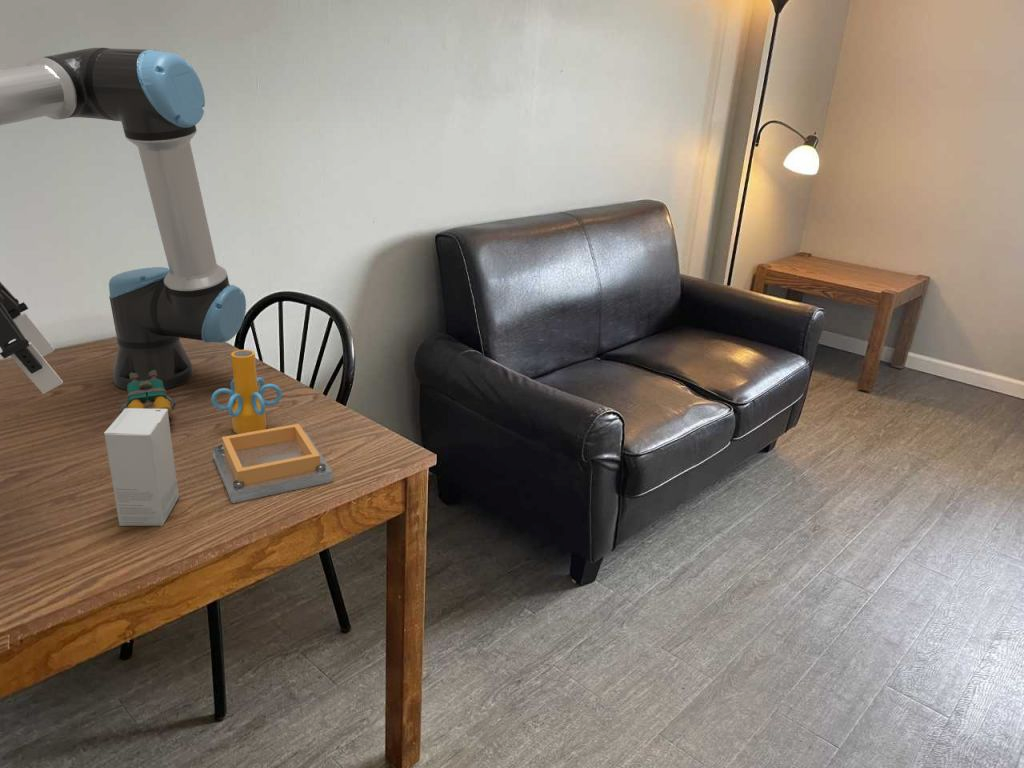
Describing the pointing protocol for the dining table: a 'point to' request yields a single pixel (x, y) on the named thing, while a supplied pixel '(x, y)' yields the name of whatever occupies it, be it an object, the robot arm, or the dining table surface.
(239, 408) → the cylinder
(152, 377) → the binoculars
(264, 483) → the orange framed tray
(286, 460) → the frame
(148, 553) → the dining table surface
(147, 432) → the skincare box
